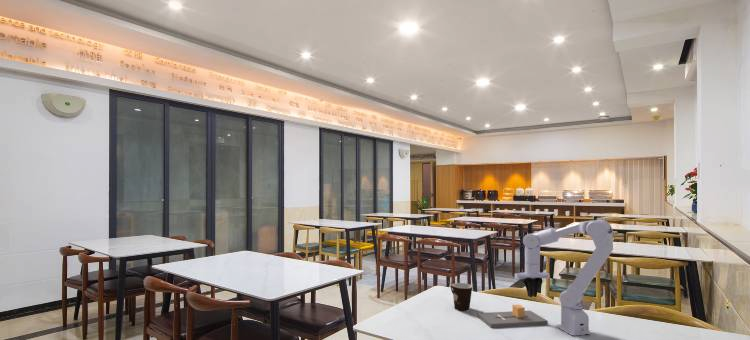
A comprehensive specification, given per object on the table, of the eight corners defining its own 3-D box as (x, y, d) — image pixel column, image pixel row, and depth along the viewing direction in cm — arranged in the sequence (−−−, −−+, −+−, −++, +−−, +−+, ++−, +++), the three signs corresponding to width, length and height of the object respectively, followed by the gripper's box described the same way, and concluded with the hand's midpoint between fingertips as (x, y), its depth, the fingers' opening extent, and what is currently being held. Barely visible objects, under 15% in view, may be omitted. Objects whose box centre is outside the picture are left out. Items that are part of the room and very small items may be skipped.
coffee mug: (474, 312, 166) (474, 288, 166) (453, 311, 166) (454, 288, 166) (468, 303, 177) (468, 281, 178) (449, 302, 178) (449, 281, 178)
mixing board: (547, 324, 153) (547, 320, 153) (491, 327, 148) (491, 323, 149) (530, 314, 165) (530, 310, 165) (477, 316, 160) (477, 312, 160)
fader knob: (524, 317, 155) (524, 307, 155) (517, 317, 155) (517, 308, 155) (519, 313, 159) (519, 304, 159) (512, 314, 159) (512, 304, 159)
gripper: (542, 260, 164) (542, 292, 164) (510, 261, 161) (510, 294, 161) (553, 264, 157) (552, 297, 157) (520, 265, 154) (519, 299, 154)
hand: (532, 296), depth 158 cm, fingers closed
